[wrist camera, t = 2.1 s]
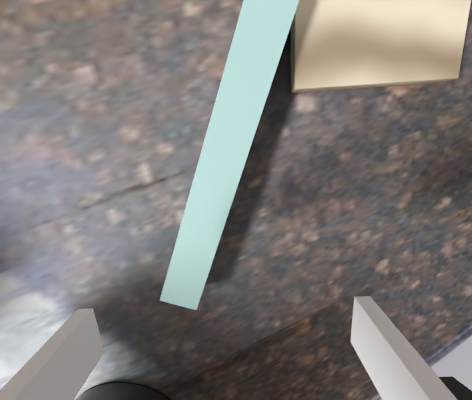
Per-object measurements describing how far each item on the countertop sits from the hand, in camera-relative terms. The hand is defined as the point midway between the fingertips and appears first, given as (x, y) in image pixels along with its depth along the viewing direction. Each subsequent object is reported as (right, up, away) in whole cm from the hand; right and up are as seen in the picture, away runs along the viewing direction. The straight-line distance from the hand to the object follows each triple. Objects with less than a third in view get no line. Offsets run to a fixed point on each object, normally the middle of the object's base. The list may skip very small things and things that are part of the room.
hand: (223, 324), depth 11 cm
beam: (-1, +10, +10) cm, 14 cm away
